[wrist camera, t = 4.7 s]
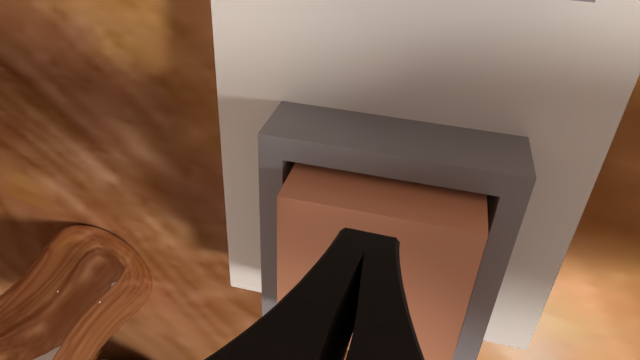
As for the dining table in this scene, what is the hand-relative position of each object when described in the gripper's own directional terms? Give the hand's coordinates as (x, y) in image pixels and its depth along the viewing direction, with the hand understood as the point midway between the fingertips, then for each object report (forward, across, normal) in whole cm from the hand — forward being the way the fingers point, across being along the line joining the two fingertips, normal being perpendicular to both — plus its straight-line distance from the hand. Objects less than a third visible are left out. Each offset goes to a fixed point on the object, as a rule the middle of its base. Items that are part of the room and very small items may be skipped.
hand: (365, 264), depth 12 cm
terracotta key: (+6, 0, +3) cm, 7 cm away
